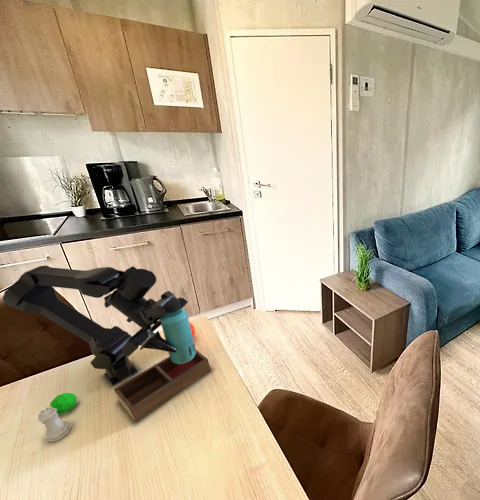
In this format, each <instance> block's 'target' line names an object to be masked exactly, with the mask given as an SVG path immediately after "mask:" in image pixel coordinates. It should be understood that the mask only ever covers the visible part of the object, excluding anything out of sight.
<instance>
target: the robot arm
mask: <svg viewBox="0 0 480 500" xmlns="http://www.w3.org/2000/svg"><path fill="white" fill-rule="evenodd" d="M156 282H157V276H156V275H155V273H154V272H152V271H151V270H148V269H144V268H136V267H135V266H132V265H131V266H130V267H128V268H127V269H125V270H120V269H116V268H114V267H111V266H105V267H96V268H91V269H88V270H87V269H86V270H83V269H71V268H62V267H61V268H60V267H53V266H52V267H51V266H49V265H39V266H36V267H34V268H32V269H29V270H27V271H25V272H23V274H22V273H21V275H20V277H19V278H18V279H17V280H16V281H15V282H14V283H12V285H10V286H9V287H7V289H6V290H5V291H4V292H3V293H4V294H3V296H2V300H3V302H4V304H6V305H7V306H8V307H10V308H14V309H16V310H18V311H20V312H22V313H27V314H28V313H29V314H30V313H31V314H40V315H42V316H43V317H45V318H46V319H48V320H50V321H51V322H53V323H55V324H56V325H58V326H60V327H61V328H62V329H64V330H66V331H68V332H69V333H71V334H73V335H74V336H76V337H77V338H79V339H81V340H83V341H84V342H86V343H87V344H88V345H89V348H90V352H91V354H92V355H93V356H94V358H93V359H92V360H91V361H90V365H91V366H92V367H93V368H94V369H98V370H104V371H105V373H104V377H105V379H107V381H108V382H109V384H110V385H112V386H115V385H116V384H118V383H120V382H121V381H123V380H125V379H127V378H128V377H130V376H132V375H134V374H136V373H137V372H138V368H136V366H134V364H133V363H132V362H131V361H130V358H129V357H130V356H131V355H133V354H134V353H135V352H136V351H137V350H138V349H139V350H140V351H142V350H143V349H149V350H156V351H157V350H158V351H163V352H168V353H169V352H173V353H175V352H176V351H177V349H176V348H175V347H174V346H173V345H171V344H170V343H168V342H167V341H166V340H165V338H164V337H162V336H161V333H160V331H159V330H157V329H158V328H159V327H160V326H162V325H161V322H160V317H163V316H165V315H167V314H168V313H167V312H166V311H165V309H164V307H163V305H164V304H165V303H166V302H167V301H168V300H170V299H171V298H176V299H178V300H179V302H180V305H181V309H184V307H186V305H187V304H188V303H189V301H188V300H187V299H185V298H184V297H177V296H176V295H175V293H173V292H172V291H170V290H168V291H165V292H163V293H162V294H161V295H160V299H158V300H154V299H153V298H149V299H147V298H145V296H146V295H147V293H148V292H149V291H150V290H151V289H152V288H153V287H154V285H155V284H156ZM55 288H62V289H71V290H77V291H79V292H80V293H81V294H82V295H83V296H87V297H90V298H95V299H99V298H102V297H103V296H105V297H103V299H104V307H105V308H106V309H108V308H110V307H111V306H112V307H113V308H114V309H116V310H117V311H118V312H120V313H121V314H122V315H124V316H125V317H126V318H127V319H125V320H126V322H127V323H131V322H133V323H135V324H136V325H137V326H138V327H140V329H139V330H138V331H136V332H135V333H134V334H133V335H131V334H130V333H129V332H128V331H126V330H124V329H122V328H121V327H119V326H117V325H114V326H113V327H111V328H109V327H104V326H102V325H101V324H99V323H98V322H95V321H94V320H93V319H91V318H90V317H88V316H87V315H85V314H83V313H82V312H80V311H78V310H77V309H75V308H73V307H72V306H70V305H69V304H67V303H65V302H64V301H62V300H61V299H59V298H58V295H57V292H56V289H55ZM156 330H157V331H156ZM155 331H156V332H155Z"/></svg>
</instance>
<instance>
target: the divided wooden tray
mask: <svg viewBox="0 0 480 500" xmlns="http://www.w3.org/2000/svg"><path fill="white" fill-rule="evenodd" d="M210 372H212V369H211V365H210V362H209V359H208V357H206V356H205V355H203V354H202V353H201V352H200V351H198V350H197V349H196V354H195V356H194V358H193V359H192V360H190V361H189V362H186V363H184V364H175V363H173V362H172V361H171V358H170V355H168V357H165V358H164V359H162V360H160V361H159V362H158V363H156V364H153V365H152V366H150V367H149V368H147V369H145V370H143V371H142V372H140V373H138V374H137V375H135V376H134V377H131V378H130V379H128V380H127V381H125V382H123V383H121V384H119V385H118V386H116V387H115V388H113V391H114V393H115V396H116V398H117V400H118V401H119V403H120V404H121V406H122V407H123V408H124V410H125V411H126V412H127V414H128V415H129V416H130V418H131V419H132V420H133V421H134V422H135V423H136V424H137V423H139V422H140V421H141V420H143V419H144V418H146V417H148V415H150V414H151V413H153V412H155V410H157V409H158V408H160V407H161V406H163V405H164V404H165V403H167V402H169V401H170V400H172V399H173V398H174V397H176V396H177V395H179V394H180V393H181V392H183V391H184V390H186V389H187V388H188V387H190V386H191V385H193V384H194V383H196V382H197V381H198V380H200V379H201V378H203V377H205V376H206V375H207V374H208V373H210Z"/></svg>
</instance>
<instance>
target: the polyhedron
mask: <svg viewBox="0 0 480 500" xmlns="http://www.w3.org/2000/svg"><path fill="white" fill-rule="evenodd" d="M77 402H78V398H77V396H76V394H75V393H72V392H64V393H61V394H58V395H56V396H55V398H53V399H52V400H51V401H50V404H49V408H50V407H53V408H56V409H57V412H56V413H58V415H62V414H65V413H68V412H70V411H71V410H73V408H74V407H75V406H76V404H77Z"/></svg>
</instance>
